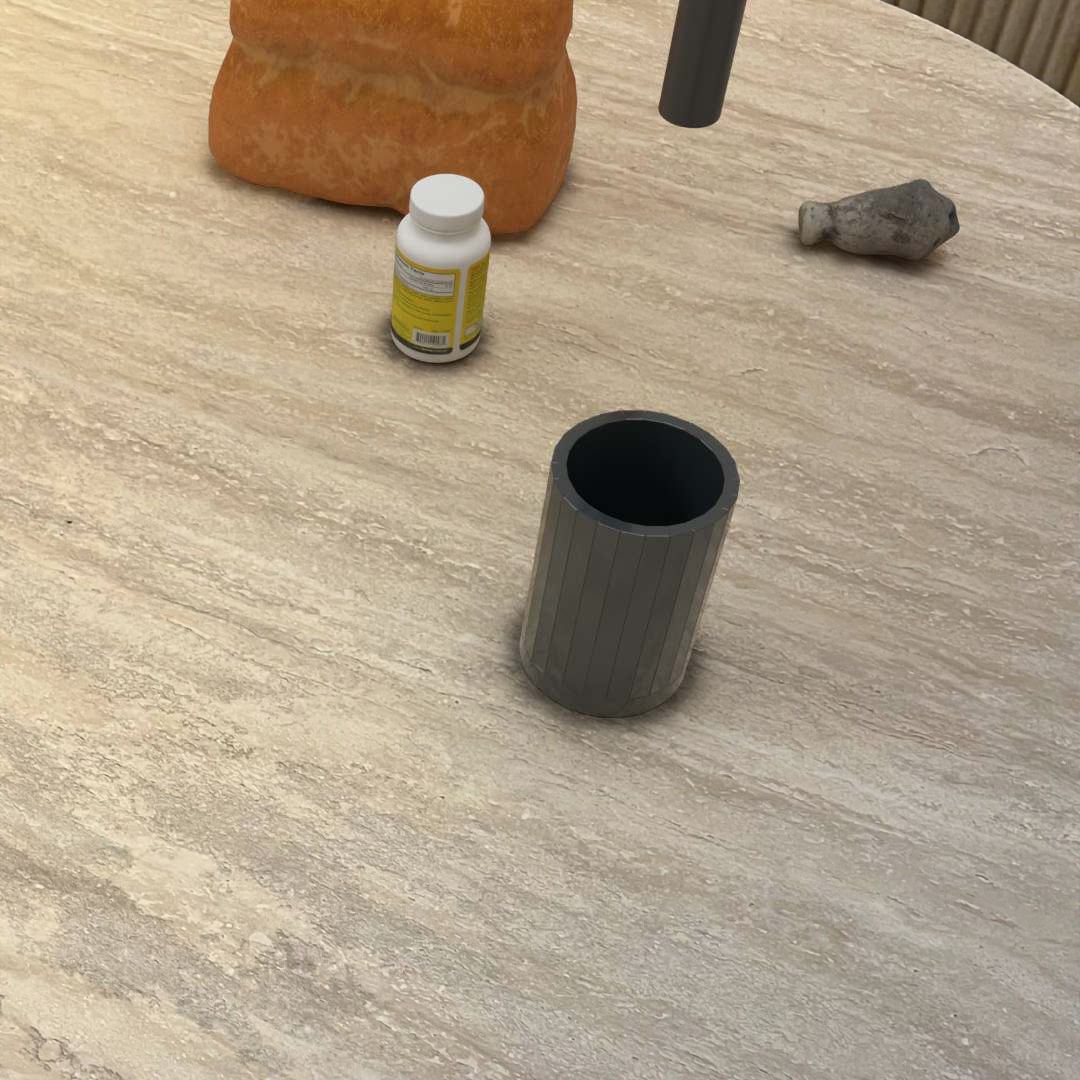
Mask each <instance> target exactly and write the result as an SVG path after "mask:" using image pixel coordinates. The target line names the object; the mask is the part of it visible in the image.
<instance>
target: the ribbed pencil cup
mask: <svg viewBox="0 0 1080 1080" xmlns="http://www.w3.org/2000/svg"><path fill="white" fill-rule="evenodd" d="M547 477H548V478H547V483H546V487H545V494H544V499H543V506H542V510H541V516H540V523H539V528H538V534H537V538H536V545H535V550H534V557H533V561H532V568H531V572H530V573H531V574H530V578H529V585H528V591H527V595H526V602H525V607H524V613H523V619H522V625H521V631H520V632H521V633H520V637H519V638H520V639H519V645H518V646H519V656H520V661H521V664H522V666H523V669H524V672H525V673H526V675H527V676H528V678H529V680H530V681H531V682H532V683H533V685H534V686H535V687H536V688H537V689H539V691H540V692H541V693H543V694H544V695H545V696H547V697H548V698H549V699H551V700H552V701H554V702H555V703H557V704H559V705H561V706H563V707H565V708H567V709H569V710H572V711H574V712H578V713H582V714H585V715H589V716H596V717H601V718H602V717H604V718H620V717H621V718H622V717H623V718H624V717H629V716H635V715H639V714H642V713H646V712H649V711H651V710H653V709H655V708H657V707H659V706H660V705H662V704H663V703H665V702H666V701H668V700H669V699H670V698H671V697H672V696H673V695H674V694H675V693H676V691H677V690H678V688H679V687H680V686H681V684H682V682H683V679H684V677H685V674H686V670H687V667H688V663H689V662H690V658H691V656H692V652H693V649H694V646H695V642H696V639H697V635H698V632H699V629H700V625H701V623H702V620H703V619H702V618H703V616H704V612H705V609H706V605H707V602H708V599H709V596H710V592H711V589H712V585H713V583H714V579H715V575H716V572H717V568H718V566H719V561H720V560H721V559H720V558H721V554H722V551H723V548H724V546H725V545H724V544H725V542H726V538H727V534H728V531H729V528H730V524H731V521H732V518H733V515H734V511H735V507H736V505H737V501H738V498H739V493H740V485H741V479H740V475H739V470H738V466H737V463H736V460H735V459H734V457H733V455H731V452H730V451H729V450H728V448H727V447H725V445H723V443H722V442H720V441H719V440H718V439H717V438H716V437H715V435H713V434H711V433H710V432H709V431H708V430H705V429H704V428H702V427H701V426H699V425H697V424H695V423H693V422H690V421H689V420H686V419H683V418H680V417H677V416H674V415H673V414H672V415H671V414H669V413H665V412H658V411H653V410H647V409H645V410H644V409H636V410H635V409H622V410H621V409H620V410H613V411H608V412H602V413H599V414H597V415H594V416H592V417H589V418H587V419H584V420H581V422H578V423H577V424H575V425H574V426H573V427H571V428H569V430H566V431H565V433H564V434H563V435H562V436H561V438H560V439H559V441H557V443H556V444H555V446H554V449H553V453H552V457H551V460H550V465H549V470H548V476H547Z"/></svg>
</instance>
